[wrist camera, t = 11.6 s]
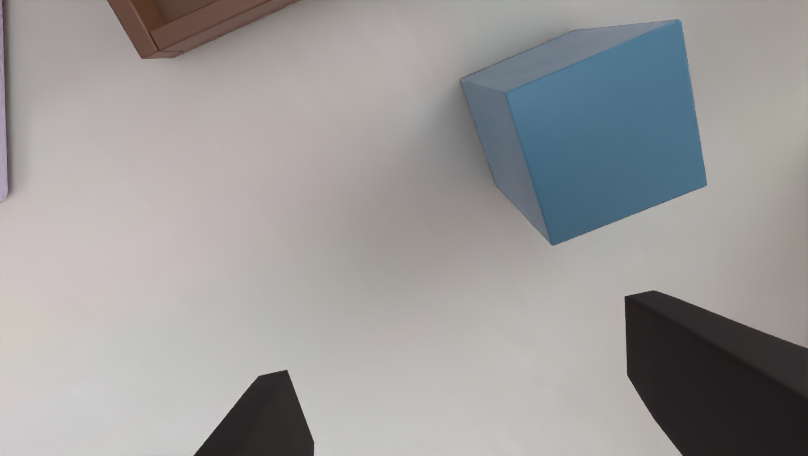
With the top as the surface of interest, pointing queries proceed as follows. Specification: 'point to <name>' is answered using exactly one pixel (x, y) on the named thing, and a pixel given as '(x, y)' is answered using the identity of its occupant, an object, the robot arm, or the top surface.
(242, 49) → the top surface
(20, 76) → the top surface
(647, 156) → the block
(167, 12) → the tray
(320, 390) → the top surface
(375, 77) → the top surface
